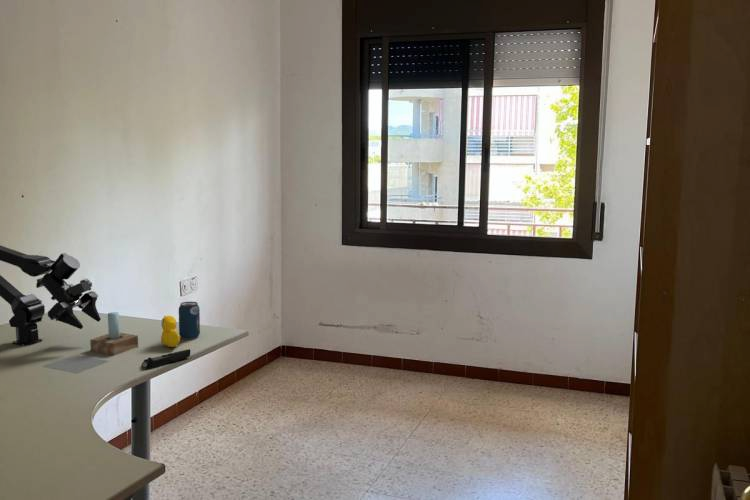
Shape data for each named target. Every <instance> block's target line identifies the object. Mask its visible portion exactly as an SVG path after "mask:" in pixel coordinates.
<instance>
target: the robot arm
mask: <svg viewBox="0 0 750 500" xmlns="http://www.w3.org/2000/svg"><path fill="white" fill-rule="evenodd" d="M0 262H3V263H7V264H10V265H13V266H16V267H17V268H20V270H21V271H22V273H24V274H26V275H28V276H30V277H33V278H34V277H39V276H42V275H43V276H42V277H41V278H37V279H36V285H35V286H36V288H37V289H38V288H41V287H44V288H45V289H46V290H47V291H48V292H49V294H50V295H51V297H50V299H51V300H52V301H57V302H56V303H54V305H53V306H52V307H51V308H50V309H49V310H48V311H47V317H48V318H49V319H50V321H54V320H55V322H61V323H64V324H66V325H69V326H71V327H74V328H77V329H79V330H82V329H84V326H83V324H82V323H81V320H79V318H78V317H77V316H76V314H74V310H73V308H76V307H77V308H79V309H81V312H83V313H84V314H86V315H87V316H88V317H90V318H91V319H93V320H94V321H96V322H101V316H100V313H99V312H98V311H99V310H98V309H97V306H96V303H97V302H96V301H98V297H99V295H98V293H96V292H95V291H93V290H92V287H93V283H92V282H91V281H90V279H88V278H83V279H82V280H79V281H80V282H79V283H77V284H73V283H67V282H66V281H65V280H69V279H70V278H71V277H72V276H73V275H74V274H75V273H76V272H77V270H78V269H79V268H81V263H80V261H79V260H78V259H77V258H75V257H73V255H69V254H67V253H66V252H64V253H60V255H59V256H58V258H57V259H56V260H52V259H51V258H50V257H49V256H45V255H35V254H26V253H23V252H21V251H17V250H14V249H12V248H9V247H6V246H3V245H1V244H0ZM83 293H84V294H83ZM0 297H1V299H3V300H4V301H5V302H6V303H8V304H9V305H10V308H11V312H12V314H13V315H12V317H11V318H10V319H9V320H8V322H9V325H10V327H11V328H15V338H16V340H14V341H12V342H11V343H12V344H15V345H20V346H29V345H33V344H37V343H39V342H42V341H43V338H39V329H38V324H37V323H41V322H42V320H43V316H44V314H45V312H46V311H45V310H46V309H45V307H46V306H45V304H43V300H41V299H40V298H38V297H37V295H35V294H34V293H30V294H28V295H25V294H24V293H22V292H21V291H19V290H18V289H17V288H16V287H15V286H14V285H13V284H12V283H10V282H9V281H8V280H7V279H6V278H4V277H3V276H2V275H1V274H0Z"/></svg>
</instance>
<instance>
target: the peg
mask: <svg viewBox="0 0 750 500" xmlns="http://www.w3.org/2000/svg"><path fill="white" fill-rule="evenodd" d="M107 325H108V329H107V330H108V334H109V339H111V340H116V339H119V338H120V335H119V333H120V317H119V312H117V311H112V312H108V313H107Z"/></svg>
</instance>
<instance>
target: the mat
mask: <svg viewBox="0 0 750 500" xmlns="http://www.w3.org/2000/svg"><path fill="white" fill-rule="evenodd" d="M109 362H110V360H104V359H100V358H95V357H91V356H84V355H79V354H73V355H70V356H67V357H65V358H62V359H59V360H56V361H52V362H50V363H47V364H44V365H42V367H43V368H49V369H54V370H58V371H63V372H68V373H72V374H79V373H80V374H81V373H82V372H85V371H87V370H91V369H93V368H95V367H99V366H101V365H104V364H107V363H109Z"/></svg>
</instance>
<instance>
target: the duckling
mask: <svg viewBox="0 0 750 500" xmlns="http://www.w3.org/2000/svg"><path fill="white" fill-rule="evenodd" d="M176 327H177V320H176V318H175V317H174V316H173V315H164V316H163V318H162V319H161V329H162V330H163V331H162V333H161V336H160V342H161V344H162V345H163V346H166V347H168V348H174V347H177V346H178V345H179V343H180V341H181V336H180V335H179V332H178V330H176Z"/></svg>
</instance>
